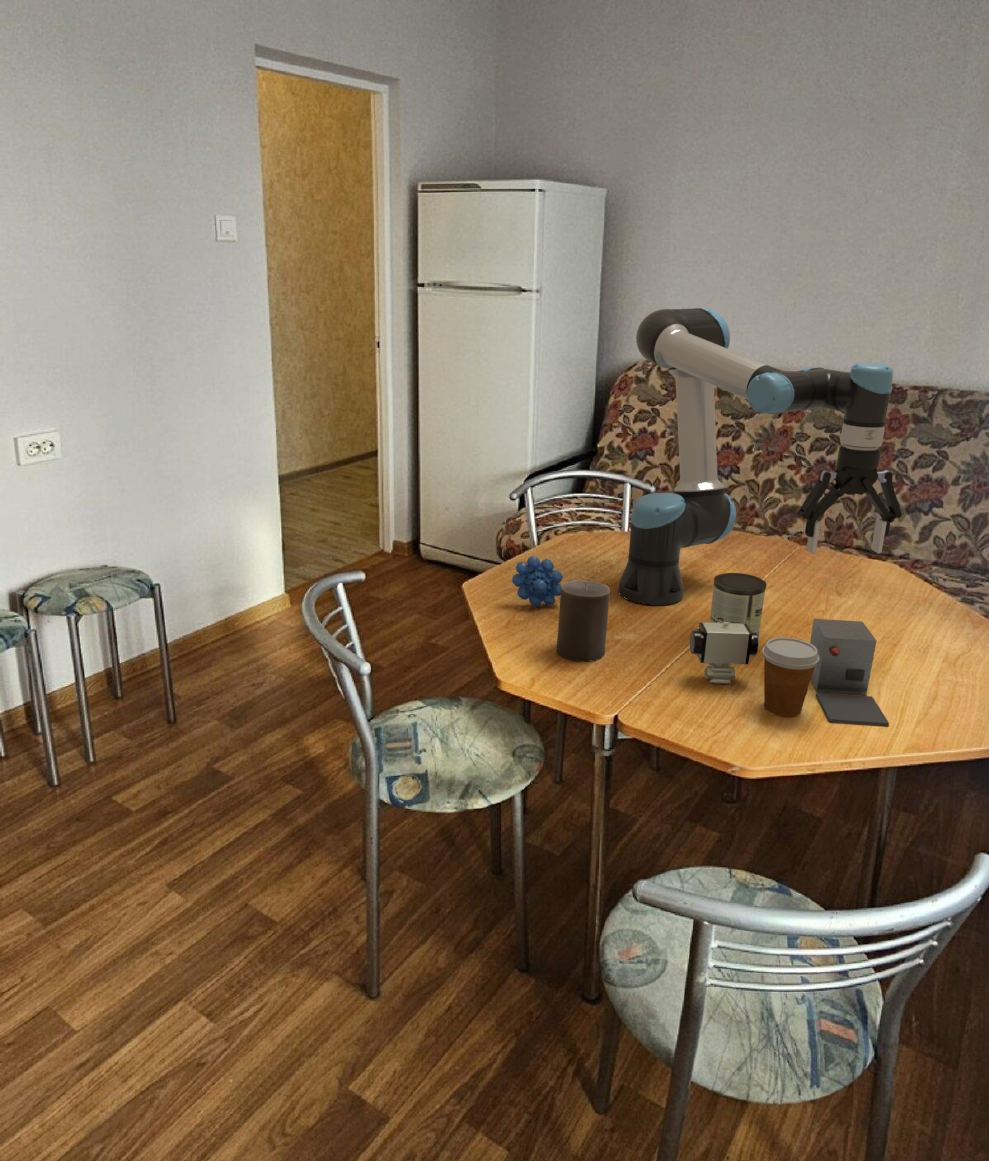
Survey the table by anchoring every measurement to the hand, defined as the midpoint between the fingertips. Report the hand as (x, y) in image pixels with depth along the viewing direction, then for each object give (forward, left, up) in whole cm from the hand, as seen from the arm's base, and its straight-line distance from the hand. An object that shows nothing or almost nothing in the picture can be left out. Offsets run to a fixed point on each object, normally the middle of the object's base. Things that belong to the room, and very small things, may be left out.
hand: (843, 551), depth 181 cm
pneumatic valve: (-25, -20, -21) cm, 38 cm away
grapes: (-61, +11, -21) cm, 65 cm away
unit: (-3, -18, -20) cm, 27 cm away
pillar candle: (-51, -11, -21) cm, 56 cm away
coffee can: (-20, -3, -21) cm, 29 cm away
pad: (-3, -29, -20) cm, 36 cm away
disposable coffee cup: (-15, -30, -21) cm, 40 cm away
